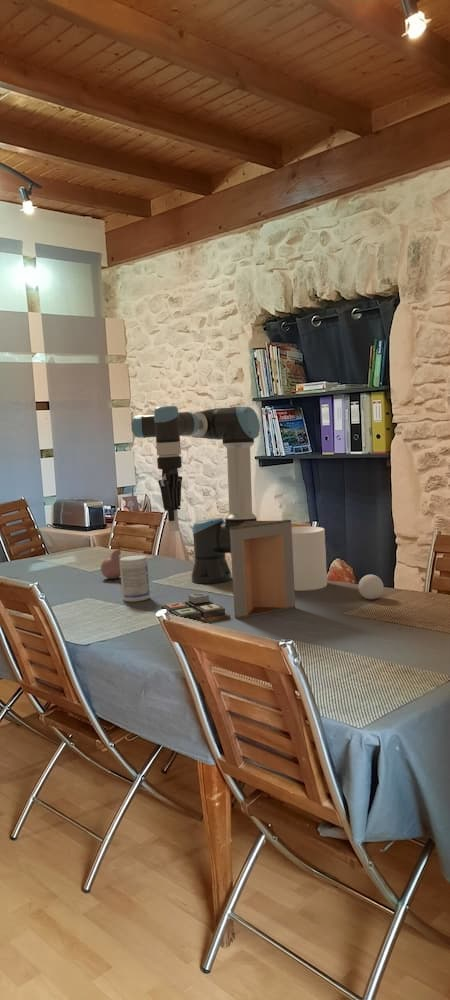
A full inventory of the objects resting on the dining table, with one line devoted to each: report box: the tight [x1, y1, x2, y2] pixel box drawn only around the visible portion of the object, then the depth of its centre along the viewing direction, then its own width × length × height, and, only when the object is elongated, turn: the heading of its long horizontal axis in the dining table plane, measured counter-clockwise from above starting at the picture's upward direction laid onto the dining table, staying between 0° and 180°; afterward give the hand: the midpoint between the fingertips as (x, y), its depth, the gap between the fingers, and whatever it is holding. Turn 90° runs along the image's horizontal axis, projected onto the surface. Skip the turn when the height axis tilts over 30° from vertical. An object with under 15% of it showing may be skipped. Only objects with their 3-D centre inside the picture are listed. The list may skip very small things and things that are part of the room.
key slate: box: [188, 592, 210, 604], centre depth 241 cm, size 5×5×2 cm
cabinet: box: [230, 519, 296, 620], centre depth 237 cm, size 21×10×28 cm, turn 117°
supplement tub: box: [120, 555, 151, 603], centre depth 263 cm, size 10×10×15 cm
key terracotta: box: [164, 601, 186, 609], centre depth 238 cm, size 5×5×2 cm
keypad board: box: [161, 600, 231, 624], centre depth 236 cm, size 17×19×3 cm
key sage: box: [175, 608, 196, 615], centre depth 230 cm, size 5×5×2 cm
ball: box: [357, 573, 384, 600], centre depth 244 cm, size 8×8×8 cm
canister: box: [291, 526, 328, 592], centre depth 269 cm, size 16×16×20 cm
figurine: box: [100, 548, 122, 580], centre depth 302 cm, size 9×11×12 cm
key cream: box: [199, 603, 222, 611], centre depth 233 cm, size 5×5×2 cm
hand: (173, 530), depth 239 cm, fingers closed
